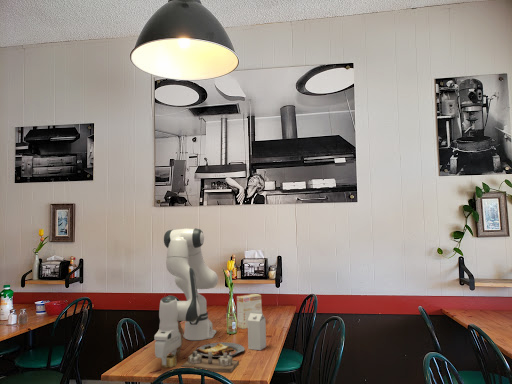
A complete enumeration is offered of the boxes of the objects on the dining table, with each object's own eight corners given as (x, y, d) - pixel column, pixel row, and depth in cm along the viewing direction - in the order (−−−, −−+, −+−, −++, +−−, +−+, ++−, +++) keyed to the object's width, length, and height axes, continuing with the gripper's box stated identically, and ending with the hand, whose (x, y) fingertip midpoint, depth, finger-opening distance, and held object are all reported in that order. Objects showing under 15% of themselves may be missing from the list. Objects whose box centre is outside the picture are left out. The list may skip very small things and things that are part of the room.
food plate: (218, 363, 201) (218, 355, 201) (186, 355, 216) (186, 347, 216) (252, 351, 220) (252, 344, 220) (221, 344, 235) (221, 338, 235)
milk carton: (254, 345, 229) (253, 309, 230) (266, 347, 226) (265, 310, 227) (248, 349, 223) (247, 312, 224) (260, 350, 219) (259, 313, 221)
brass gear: (166, 362, 204) (165, 354, 205) (178, 363, 203) (178, 354, 203) (159, 367, 198) (159, 358, 198) (172, 368, 196) (172, 359, 196)
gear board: (191, 360, 206) (191, 347, 206) (238, 363, 200) (238, 349, 200) (181, 369, 194) (180, 354, 195) (230, 372, 188) (230, 357, 189)
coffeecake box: (256, 323, 279) (256, 293, 280) (262, 325, 273) (261, 294, 274) (236, 326, 271) (236, 295, 272) (242, 329, 265) (241, 297, 266)
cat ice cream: (177, 352, 219) (176, 317, 221) (187, 355, 214) (186, 319, 216) (163, 357, 213) (163, 320, 214) (173, 360, 208) (173, 322, 209)
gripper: (172, 326, 212) (172, 354, 211) (152, 337, 193) (152, 368, 192) (184, 326, 211) (184, 355, 210) (164, 337, 191) (165, 369, 190)
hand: (169, 361), depth 200 cm, fingers closed on brass gear, 7 cm apart
